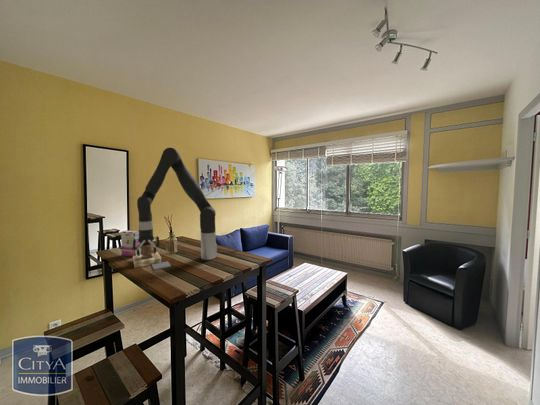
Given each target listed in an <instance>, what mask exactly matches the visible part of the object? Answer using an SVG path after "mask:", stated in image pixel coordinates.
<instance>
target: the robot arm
mask: <svg viewBox="0 0 540 405" xmlns="http://www.w3.org/2000/svg"><path fill="white" fill-rule="evenodd" d="M160 156H161V157H160V158H159V161H158V164H157V166H156V168H155V170H154V172H153V174H152V175H151V176H150V179H149V181H148V182H147V184H146V186H145V190H144V191H143V192H142V194H141V196H139V197H138V199H137V200H136V205H137V206H136V207H137V213H138V231H139V238H138V239H133V249H134V250H137V255H138V256H140V250H139V249H140V247H141V248H142V245H149V244H151V247H152V248H153V250H152V251H153V252H152V253H154V254H155V252H157V247H160V237H159V236H158V235H157V236H154V226H153V214H152V209H151V208H152V207H151V205H152V203H153V201H154V200H155V198H156V195H157V193H158V192H159V191H160V189H161V188H162V185H163V183H164V181H165V179H166V176H167V173H168V172H169V170H170V168H171V169H172V170H173V172H174V173H175V175H176V177H177V180H178V182H179V184H180V186H181V187H182V190H183V191H184V192H185V194H186V195H187V196H188V198H190V200H191V201H192V202H193V203H194V204H195V205H196V206H197V208H198V210H199V212H200V213H199V228H200V259H201V260H204V261H210V260H211V261H212V260H214V259H216V257H217V258H218V247H217V246H218V245H217V243H216V241H217V240H216V239H217V238H216V214H217V213H216V210H215V209H214V207H213V206H212V205H211V204H210V202H209V201H208V199H207V198H206V196H205V194H204V192H203V190H202V188H201V187H200V185H199V183H198V182H197V179H195V177H194V176H193V175H192V173H191V172H190V171H189V170H188V168H187V167H186V164H184V161H183V159H182V157H181V155H180V153H179V151H178V150H177V149H175V148H174V147H166V148H165V149H164V150H163V151H162V154H161V155H160ZM154 240H155V242H156V243H154V242H153V241H154ZM137 241H139V242H140V243H139V245H138V246H137V247H136V243H137Z"/></svg>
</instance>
